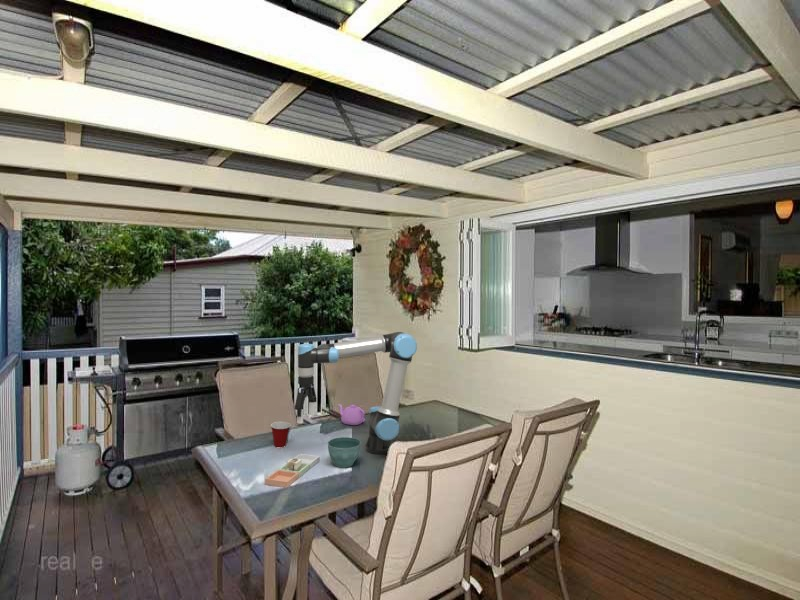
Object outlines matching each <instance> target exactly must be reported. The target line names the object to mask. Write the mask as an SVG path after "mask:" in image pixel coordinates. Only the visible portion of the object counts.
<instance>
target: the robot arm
mask: <svg viewBox="0 0 800 600" xmlns="http://www.w3.org/2000/svg"><path fill="white" fill-rule="evenodd" d="M297 348H298V349H297V371H298V373H297V375H298V377H297V384H298V385H300V388H299V387H297V394H296V398H295V404H294V410H295V411H296V423H297V424H303V423H304V409H303V407H304V404H305V402H306V401H305V400H306V398H308V401H309V402H308V416H315V409H316V407H315V404H316V403H317V395H316V389H315V383H314V382H315V376H314V375H315V368H314V367H315V366H314V364H333V363H337V362H339V358H340V357H341V358H343V357H349V356H356V355H363V354H371V353H379V352H382V353H383V354H385V353H389V356H388V357H389V360H390V365H389V370H388V375H387V379H386V383H385V388H384V393H383V398H382V403H381V405H378V406H377V405H376V406H371V407H370V408H369V412H368V436H367V439H366V441H365V446H364V449H365V451H366V452H368V453H370V454H375V455H386V454H388V453H387V451H388V448H389V446H390V444H391V443H393V439H395V438H396V437H397V436H398V434H400V433H399V432H400V424H399V419H400V416H401V414H400V411H399V407H400V406H399V405H400V402H401V397H402V392H403V387H404V383H405V377H406V373H407V369H408V365H409V364H410V363H412V361H413V360H412V359H413V356H414V355H415V354H416V352H417V350H418V343H417V340H416V339H415V338H414V337H413V336H412V335H411V334H409V333H405V332H401V331H396V332H391V333H387V334H381V335H380V336H379V337H372V338H371V337H370V338H363V339H356V340H350V341H349V340H348V341H341V342H334V343H322V344H320V345H318V346H317V347H315V345H314V344H313V343H302V344H299V345H298V347H297Z"/></svg>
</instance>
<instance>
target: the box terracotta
mask: <svg viewBox="0 0 800 600" xmlns="http://www.w3.org/2000/svg"><path fill="white" fill-rule="evenodd" d="M299 479H300V478H299V473H296V472H289V471H282V470H278V469H276V470H275V471H274V472H273V473H271V474H270V475H269V476H267V477H266V478H264V485H265V486H266V485H267V486H272V487H280V488H284V489H287V488H289V487H290V486H291V485H292V484H294V483H295V482H296V481H298V480H299Z"/></svg>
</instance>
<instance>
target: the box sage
mask: <svg viewBox="0 0 800 600" xmlns="http://www.w3.org/2000/svg"><path fill="white" fill-rule="evenodd" d="M277 470H282V471H289V472H296V473H299V479H300V478H302V477H303V476H304V474H306V473H307V472H309V471H310V470H311V469H310V464H305V463H302V465H301V470H300V471H299V472H298V471H291V470H287V463H285V464H284V465H282V466H281V467H280V468H278V469H277Z"/></svg>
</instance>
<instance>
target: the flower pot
mask: <svg viewBox="0 0 800 600" xmlns="http://www.w3.org/2000/svg"><path fill="white" fill-rule="evenodd" d="M361 445H362V441H361V440H360V439H359V438H356V437H349V436H348V437H347V436H345V437H344V436H342V437H341V436H340V437H335V438H332V439H329V440H328V441H327V450H328V454H329V457H330V459H331V460H332V462H333V465H334V466H335V467H337V468H350V467H352V466H353V465H354V463H355V461H356V460H357V458H358V456H359V453H360V451H361Z"/></svg>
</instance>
